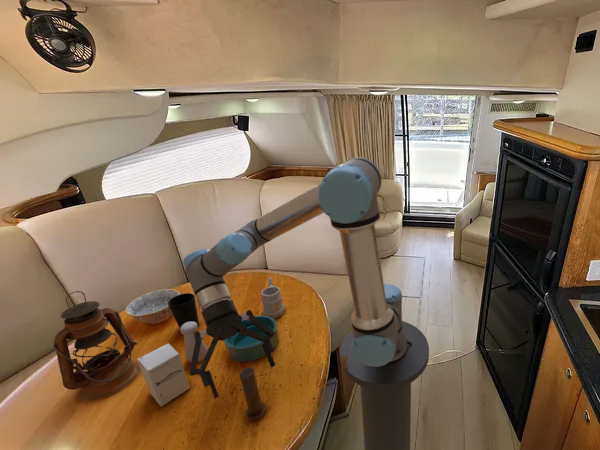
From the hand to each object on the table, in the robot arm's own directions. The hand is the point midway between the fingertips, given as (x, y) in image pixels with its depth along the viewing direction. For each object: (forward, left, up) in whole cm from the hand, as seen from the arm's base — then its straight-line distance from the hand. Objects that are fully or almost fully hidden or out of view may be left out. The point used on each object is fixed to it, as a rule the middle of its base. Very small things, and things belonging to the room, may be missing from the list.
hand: (246, 381), depth 78 cm
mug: (+11, -41, -10) cm, 44 cm away
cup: (+37, -30, -10) cm, 49 cm away
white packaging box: (+25, -4, -10) cm, 28 cm away
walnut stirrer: (-2, +2, -9) cm, 10 cm away
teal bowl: (+10, -22, -9) cm, 26 cm away
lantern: (+45, -7, -10) cm, 47 cm away
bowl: (+52, -35, -10) cm, 64 cm away
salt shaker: (+25, -16, -10) cm, 32 cm away
